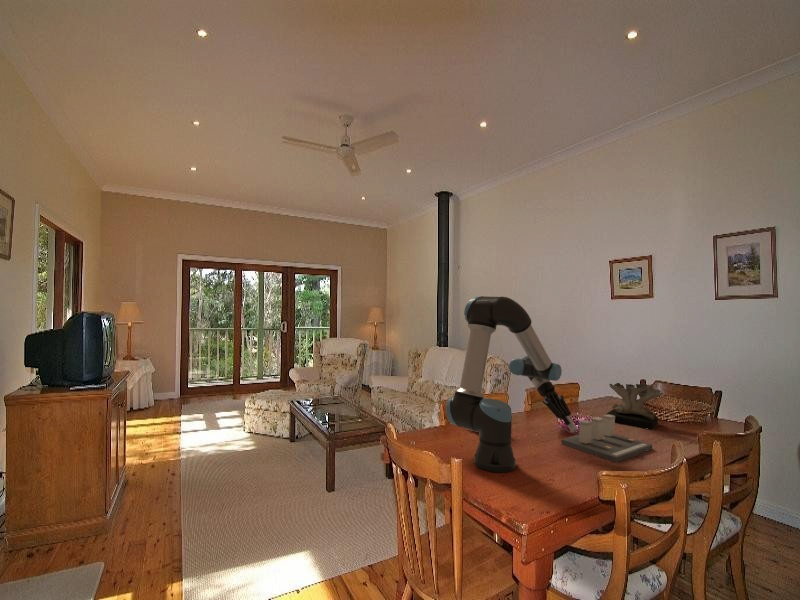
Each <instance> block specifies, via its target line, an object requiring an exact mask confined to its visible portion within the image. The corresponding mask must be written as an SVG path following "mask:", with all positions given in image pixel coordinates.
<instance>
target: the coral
mask: <svg viewBox="0 0 800 600" xmlns="http://www.w3.org/2000/svg"><path fill="white" fill-rule="evenodd" d="M609 387H610V389H611V390H612V391H614V392H615V393H616V394H617V395H618V396H619V397H620V398H621V399H622V400H621V404H617V403H615V404H613V405H612V409H611V410H610V411H609V412H607V413H606V414H605V415H607V414H609V415H614V416H615V424H619V425H624V426H631V427H635V428H639V427H641V428H640V429H645V428H648V429H647V430H650V429H653V428H654V427H655V426H656V425H657V424H658V425H659V417H658V416H657V413H654V412H653V411H651V410H650V409H649V408H648V407H644V404H645V403H646V402H647V401H650V400H652V399H655V398H658V397H661V396H662V395H664V393H663V392H661V389H659V388H657V389H655V388H653V386H652V385H650V386H647V384H646V383H639V384H638V383H636V384H634V385H633V384H632V383H630V384H628V383H626V384H625V386H624V384H621V383H620V382H617V383H614V384H613V383H609ZM638 396H639V398H638ZM658 425H657V426H658ZM657 426H656V427H657ZM656 427H655V428H656ZM655 428H654V429H655ZM654 429H653V430H654Z"/></svg>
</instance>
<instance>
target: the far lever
mask: <svg viewBox="0 0 800 600" xmlns="http://www.w3.org/2000/svg"><path fill="white" fill-rule="evenodd" d="M606 414H607V413H606ZM606 414H604V415H602V418H603V419H604V426H603V435H606V436H609V437H610V436H613V435H615V434H616V433H615V431H616V430H615V429H616V428H615V426H616V423H615V416H614V415H609V414H607V415H606Z"/></svg>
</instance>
